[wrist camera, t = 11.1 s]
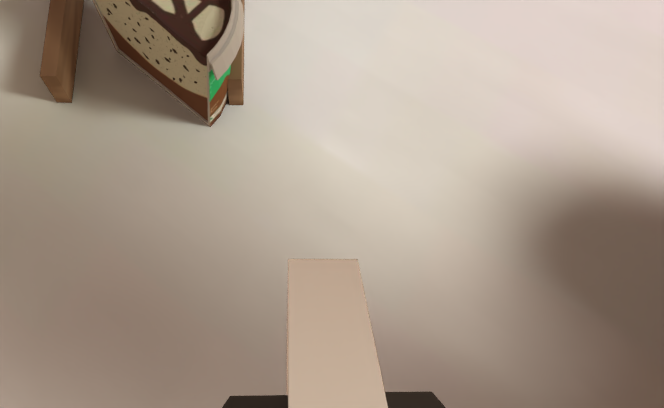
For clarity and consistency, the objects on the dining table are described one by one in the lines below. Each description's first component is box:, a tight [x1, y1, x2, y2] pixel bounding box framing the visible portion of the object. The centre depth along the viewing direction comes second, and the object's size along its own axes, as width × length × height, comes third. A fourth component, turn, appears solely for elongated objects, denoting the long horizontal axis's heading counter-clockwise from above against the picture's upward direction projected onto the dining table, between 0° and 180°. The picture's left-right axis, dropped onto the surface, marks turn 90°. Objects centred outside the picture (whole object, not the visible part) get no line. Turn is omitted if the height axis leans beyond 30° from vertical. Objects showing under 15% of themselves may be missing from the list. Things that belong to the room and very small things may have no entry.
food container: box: [93, 0, 244, 127], centre depth 41 cm, size 12×6×10 cm, turn 51°
